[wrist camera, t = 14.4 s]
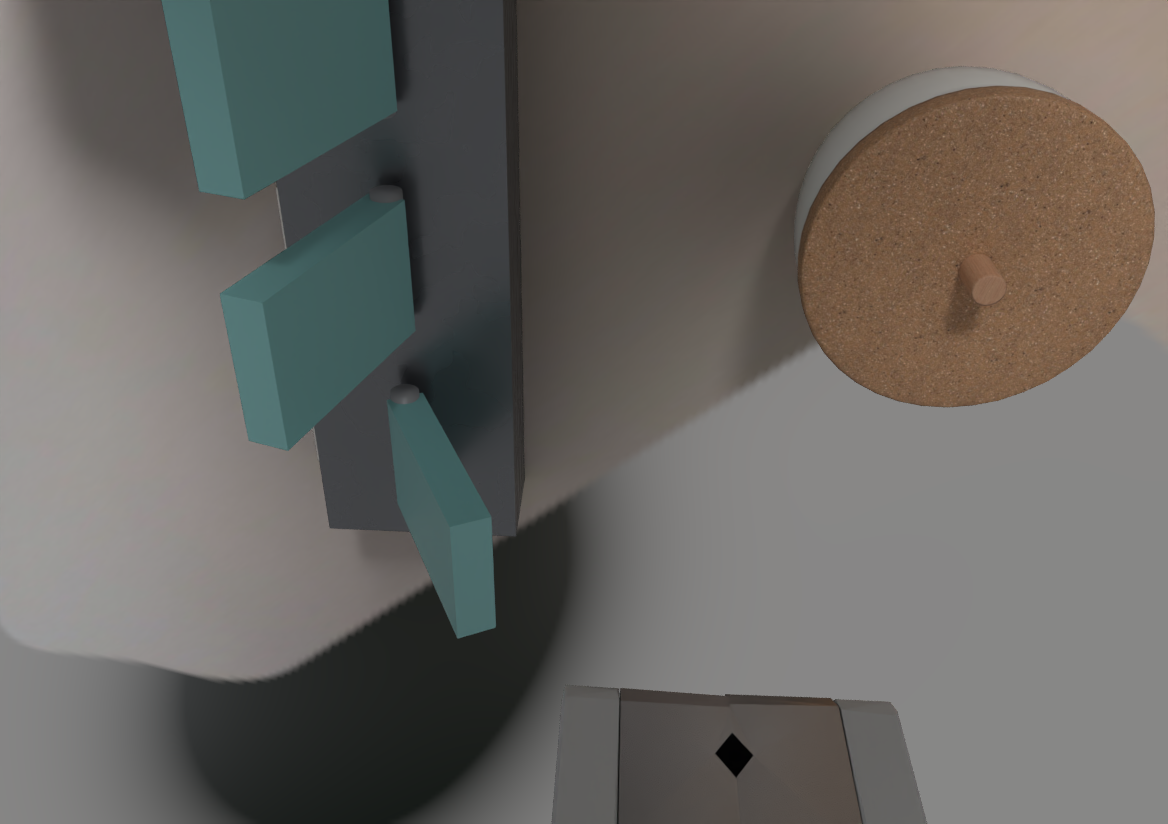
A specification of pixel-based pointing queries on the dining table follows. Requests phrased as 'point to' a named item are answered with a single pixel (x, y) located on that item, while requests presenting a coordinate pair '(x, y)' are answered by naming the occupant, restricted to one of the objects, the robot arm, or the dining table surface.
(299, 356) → the block
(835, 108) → the dining table surface
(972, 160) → the lidded jar
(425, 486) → the teal flat block
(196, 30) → the rocker
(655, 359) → the dining table surface
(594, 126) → the dining table surface
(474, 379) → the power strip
